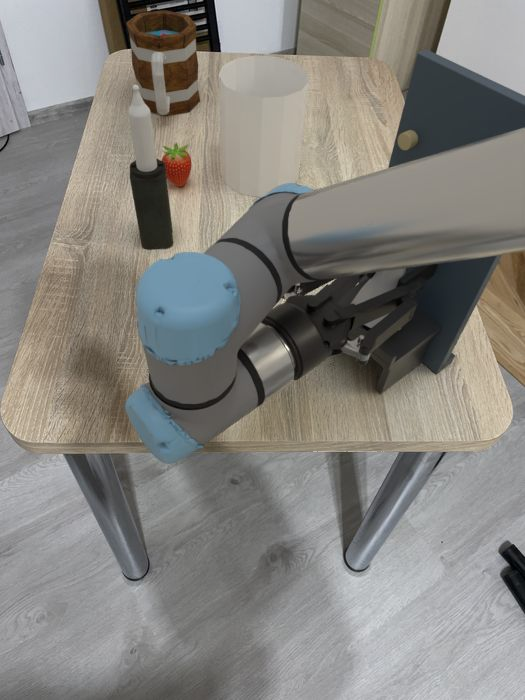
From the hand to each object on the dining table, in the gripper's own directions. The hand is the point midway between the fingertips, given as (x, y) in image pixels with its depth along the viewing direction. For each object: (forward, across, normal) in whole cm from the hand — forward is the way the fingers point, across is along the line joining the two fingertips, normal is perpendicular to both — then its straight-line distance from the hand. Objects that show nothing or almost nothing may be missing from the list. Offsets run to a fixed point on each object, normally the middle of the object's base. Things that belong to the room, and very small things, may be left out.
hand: (420, 256), depth 65 cm
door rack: (-4, 0, -16) cm, 16 cm away
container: (+11, -42, -16) cm, 46 cm away
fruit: (-3, -48, -16) cm, 51 cm away
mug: (+11, -72, -16) cm, 75 cm away
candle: (-14, -38, -16) cm, 44 cm away
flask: (-5, 0, -6) cm, 8 cm away
